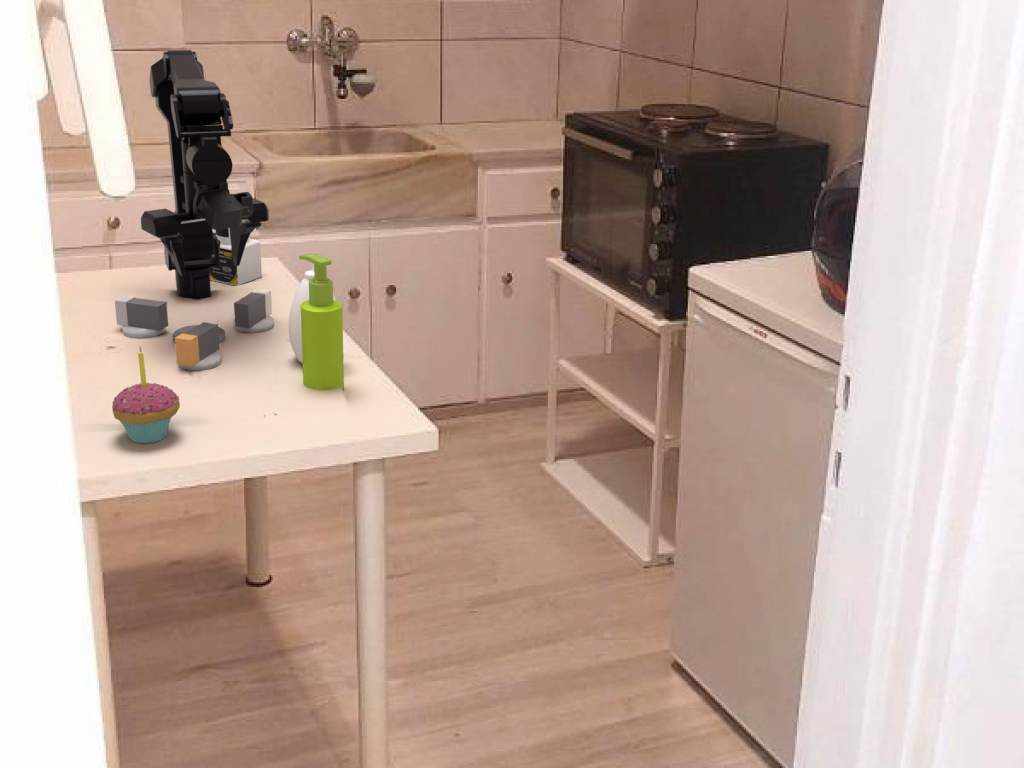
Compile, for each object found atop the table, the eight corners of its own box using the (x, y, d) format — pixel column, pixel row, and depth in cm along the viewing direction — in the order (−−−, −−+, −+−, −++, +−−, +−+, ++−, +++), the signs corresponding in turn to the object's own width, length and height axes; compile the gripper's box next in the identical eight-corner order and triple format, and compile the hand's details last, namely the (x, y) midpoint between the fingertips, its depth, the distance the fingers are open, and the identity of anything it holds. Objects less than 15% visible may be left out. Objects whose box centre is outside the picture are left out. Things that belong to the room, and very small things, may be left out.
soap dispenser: (324, 376, 177) (320, 248, 169) (352, 390, 173) (349, 259, 165) (291, 386, 173) (286, 255, 165) (319, 400, 169) (315, 266, 161)
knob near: (175, 327, 191) (173, 297, 189) (153, 340, 185) (150, 310, 183) (133, 321, 192) (130, 292, 191) (110, 334, 187) (107, 304, 185)
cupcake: (112, 427, 158) (104, 343, 154) (177, 419, 161) (171, 337, 157) (118, 453, 151) (109, 367, 146) (186, 445, 154) (179, 359, 149)
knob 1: (194, 350, 182) (192, 319, 180) (231, 356, 180) (229, 325, 178) (166, 368, 175) (163, 335, 173) (203, 374, 173) (201, 342, 171)
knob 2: (260, 335, 189) (259, 305, 187) (224, 330, 190) (222, 300, 188) (282, 320, 195) (281, 291, 193) (247, 316, 197) (246, 287, 195)
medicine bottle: (207, 280, 218) (203, 216, 213) (232, 270, 224) (229, 208, 219) (237, 286, 215) (233, 222, 210) (262, 277, 221) (259, 214, 216)
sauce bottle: (350, 372, 179) (348, 258, 172) (303, 381, 175) (298, 265, 168) (329, 355, 185) (326, 244, 178) (282, 364, 181) (277, 251, 174)
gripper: (167, 188, 166) (175, 293, 172) (284, 174, 177) (288, 273, 183) (135, 174, 174) (144, 275, 180) (249, 160, 185) (254, 256, 191)
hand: (209, 270), depth 183 cm, fingers open, 9 cm apart
